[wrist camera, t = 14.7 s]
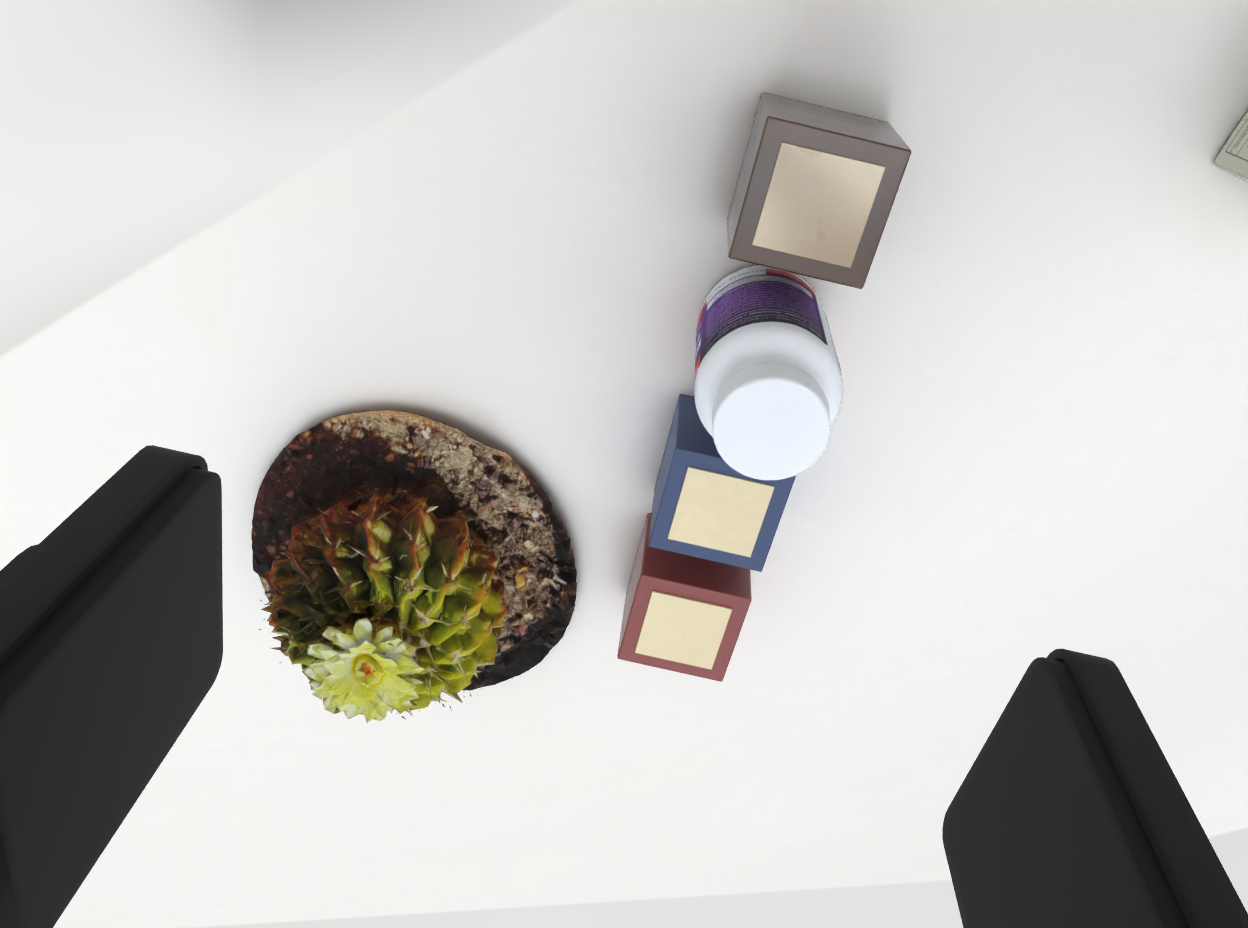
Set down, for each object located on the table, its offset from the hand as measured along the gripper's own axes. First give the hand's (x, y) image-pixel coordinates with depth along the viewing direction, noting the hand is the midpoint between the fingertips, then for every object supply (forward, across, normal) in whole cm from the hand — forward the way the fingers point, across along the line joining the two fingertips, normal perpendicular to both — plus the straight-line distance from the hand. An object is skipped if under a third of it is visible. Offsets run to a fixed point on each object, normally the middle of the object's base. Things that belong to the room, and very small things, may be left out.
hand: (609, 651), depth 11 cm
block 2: (+30, -5, +20) cm, 37 cm away
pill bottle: (+30, -5, +7) cm, 32 cm away
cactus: (+30, +8, +23) cm, 39 cm away
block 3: (+30, -5, 0) cm, 31 cm away
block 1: (+30, -5, +14) cm, 33 cm away
